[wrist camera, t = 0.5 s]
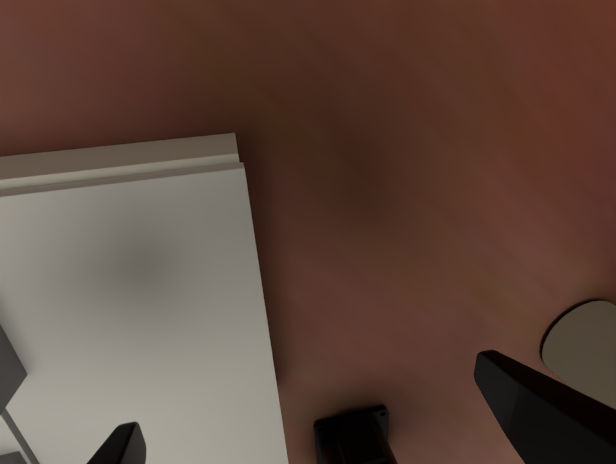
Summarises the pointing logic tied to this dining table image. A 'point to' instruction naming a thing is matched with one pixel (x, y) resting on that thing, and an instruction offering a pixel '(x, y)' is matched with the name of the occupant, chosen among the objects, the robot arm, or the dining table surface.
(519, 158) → the dining table surface
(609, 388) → the travel mug
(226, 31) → the dining table surface
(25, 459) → the flap
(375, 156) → the dining table surface
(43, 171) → the carton
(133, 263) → the flap
